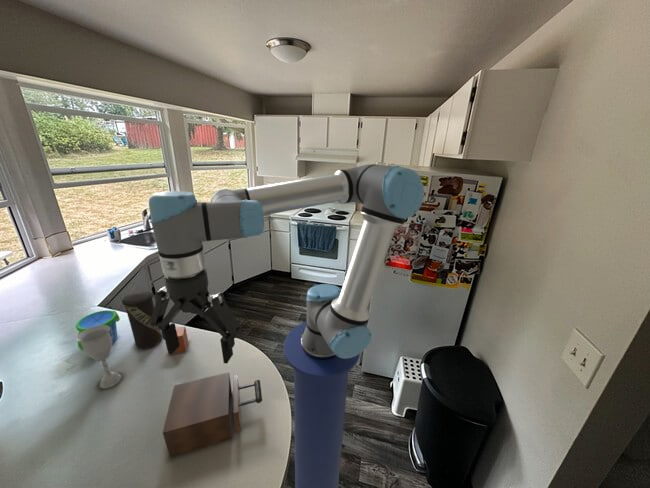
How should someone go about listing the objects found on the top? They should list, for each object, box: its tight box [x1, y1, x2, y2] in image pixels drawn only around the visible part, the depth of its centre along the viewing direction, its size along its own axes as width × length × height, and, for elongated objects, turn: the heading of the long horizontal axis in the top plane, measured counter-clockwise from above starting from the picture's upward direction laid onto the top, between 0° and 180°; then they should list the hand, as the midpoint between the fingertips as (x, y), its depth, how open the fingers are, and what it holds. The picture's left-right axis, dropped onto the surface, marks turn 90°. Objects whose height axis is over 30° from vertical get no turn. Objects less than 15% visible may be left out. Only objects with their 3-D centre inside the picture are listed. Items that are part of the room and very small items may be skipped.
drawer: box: [229, 374, 263, 433], centre depth 66 cm, size 18×11×7 cm, turn 109°
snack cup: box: [75, 309, 121, 351], centre depth 89 cm, size 16×10×10 cm
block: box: [171, 325, 189, 355], centre depth 88 cm, size 5×5×7 cm
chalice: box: [76, 325, 122, 389], centre depth 73 cm, size 7×7×18 cm
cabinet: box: [162, 371, 233, 458], centre depth 64 cm, size 14×13×9 cm
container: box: [121, 289, 163, 350], centre depth 88 cm, size 9×9×20 cm
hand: (200, 354), depth 57 cm, fingers open, 13 cm apart
